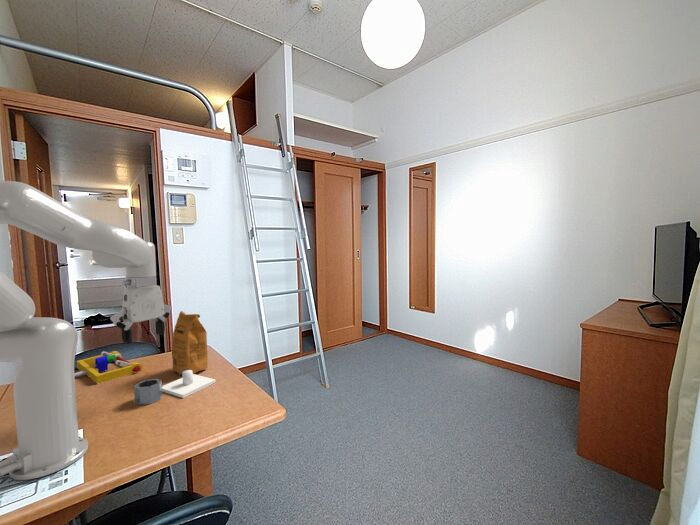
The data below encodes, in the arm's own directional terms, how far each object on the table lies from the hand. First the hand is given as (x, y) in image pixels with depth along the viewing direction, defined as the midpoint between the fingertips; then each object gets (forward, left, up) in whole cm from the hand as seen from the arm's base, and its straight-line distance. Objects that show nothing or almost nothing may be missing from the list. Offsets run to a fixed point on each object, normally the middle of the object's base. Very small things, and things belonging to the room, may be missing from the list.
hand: (144, 338), depth 96 cm
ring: (0, -1, -19) cm, 19 cm away
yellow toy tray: (+6, +39, -20) cm, 44 cm away
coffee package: (+20, +7, -19) cm, 29 cm away
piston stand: (+11, -4, -19) cm, 22 cm away
